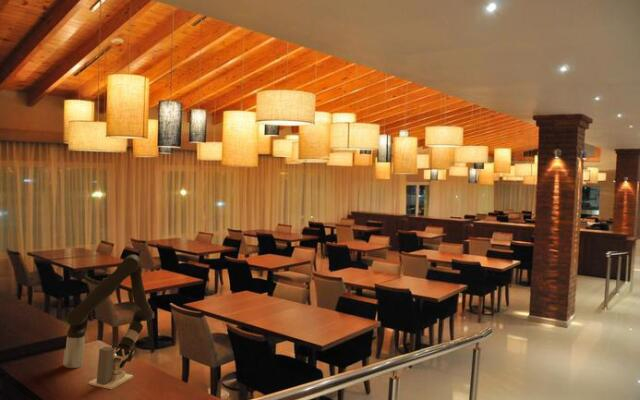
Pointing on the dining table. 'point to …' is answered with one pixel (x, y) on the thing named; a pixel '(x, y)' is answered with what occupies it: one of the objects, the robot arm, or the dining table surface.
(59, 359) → the dining table surface
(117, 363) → the rail end
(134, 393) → the dining table surface
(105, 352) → the grey pillar stand
